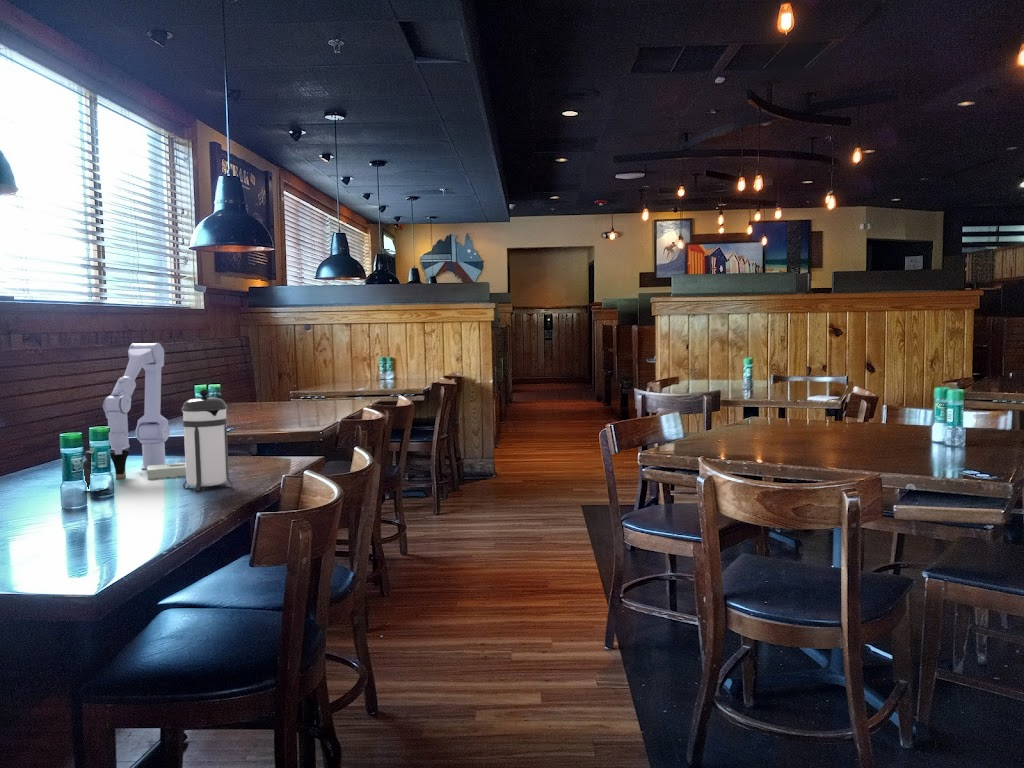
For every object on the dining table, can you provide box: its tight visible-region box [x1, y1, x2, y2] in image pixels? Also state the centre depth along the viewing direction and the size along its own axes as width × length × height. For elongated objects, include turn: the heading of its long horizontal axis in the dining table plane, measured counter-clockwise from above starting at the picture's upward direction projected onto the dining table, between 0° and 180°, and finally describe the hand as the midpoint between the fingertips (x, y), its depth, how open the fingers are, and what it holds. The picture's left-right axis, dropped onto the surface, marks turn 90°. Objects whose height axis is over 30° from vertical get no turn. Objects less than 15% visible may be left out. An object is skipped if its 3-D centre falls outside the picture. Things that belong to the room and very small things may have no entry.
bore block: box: [146, 462, 186, 480], centre depth 253 cm, size 10×18×3 cm, turn 115°
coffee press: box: [181, 389, 234, 493], centre depth 229 cm, size 17×16×30 cm
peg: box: [114, 469, 127, 480], centre depth 248 cm, size 3×3×6 cm
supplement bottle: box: [82, 449, 92, 489], centre depth 229 cm, size 7×7×12 cm
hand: (120, 473), depth 248 cm, fingers closed on peg, 3 cm apart
